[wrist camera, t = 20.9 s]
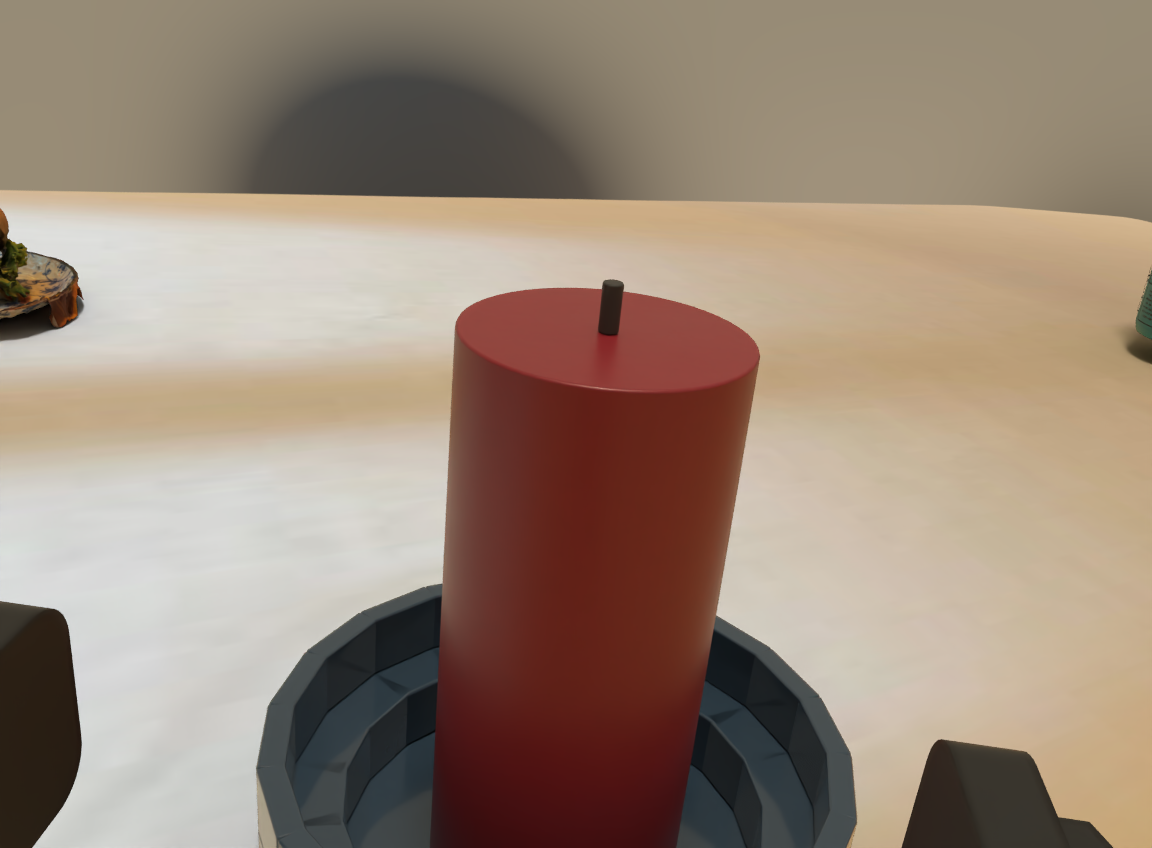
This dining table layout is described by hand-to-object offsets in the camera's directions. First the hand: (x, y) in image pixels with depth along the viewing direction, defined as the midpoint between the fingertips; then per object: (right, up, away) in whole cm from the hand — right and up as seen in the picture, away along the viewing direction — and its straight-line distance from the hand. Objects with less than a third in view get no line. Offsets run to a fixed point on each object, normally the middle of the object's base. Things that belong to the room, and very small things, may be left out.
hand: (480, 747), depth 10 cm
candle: (0, -7, +16) cm, 17 cm away
